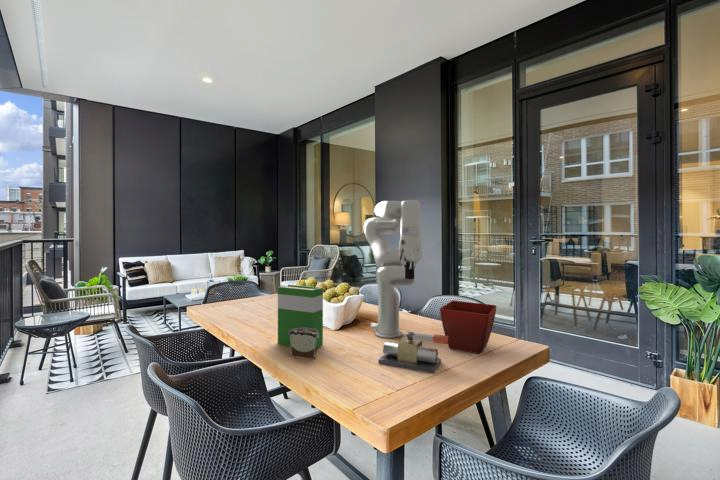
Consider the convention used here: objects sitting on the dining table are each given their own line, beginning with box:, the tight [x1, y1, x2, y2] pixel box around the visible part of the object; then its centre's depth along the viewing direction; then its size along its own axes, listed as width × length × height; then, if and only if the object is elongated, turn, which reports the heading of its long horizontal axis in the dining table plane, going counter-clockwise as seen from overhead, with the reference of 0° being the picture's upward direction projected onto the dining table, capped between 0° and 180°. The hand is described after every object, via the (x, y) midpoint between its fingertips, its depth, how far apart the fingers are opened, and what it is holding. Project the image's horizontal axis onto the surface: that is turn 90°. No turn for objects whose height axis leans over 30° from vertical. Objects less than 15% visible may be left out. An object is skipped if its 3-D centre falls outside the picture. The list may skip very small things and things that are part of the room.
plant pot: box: [439, 300, 497, 354], centre depth 148 cm, size 19×19×17 cm
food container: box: [288, 327, 319, 360], centre depth 137 cm, size 12×6×10 cm, turn 71°
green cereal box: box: [277, 284, 324, 349], centre depth 151 cm, size 18×7×24 cm, turn 63°
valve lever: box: [405, 331, 449, 345], centre depth 128 cm, size 15×3×2 cm, turn 68°
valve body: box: [378, 336, 442, 374], centre depth 130 cm, size 20×11×9 cm, turn 64°
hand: (409, 278), depth 141 cm, fingers closed
